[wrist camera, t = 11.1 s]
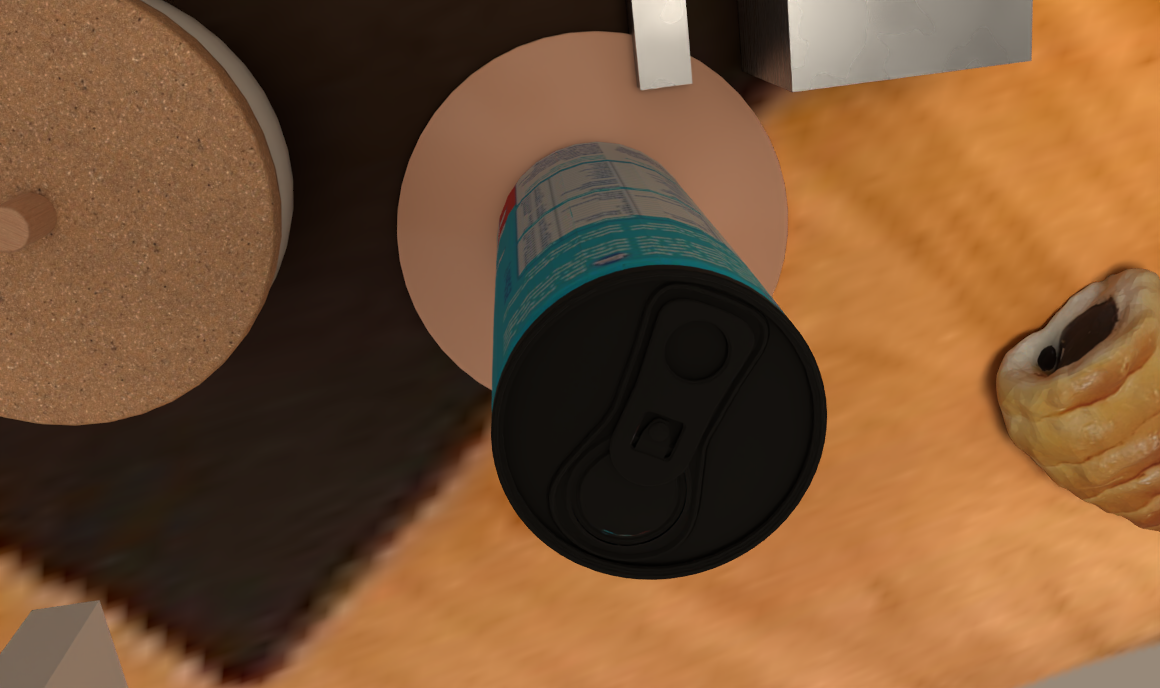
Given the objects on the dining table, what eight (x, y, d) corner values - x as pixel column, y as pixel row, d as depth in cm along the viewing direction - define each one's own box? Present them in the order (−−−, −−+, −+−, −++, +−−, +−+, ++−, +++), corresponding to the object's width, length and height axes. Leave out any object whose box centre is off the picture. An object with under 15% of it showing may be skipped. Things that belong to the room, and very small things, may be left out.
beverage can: (460, 264, 33) (425, 484, 19) (565, 98, 31) (614, 201, 17) (620, 360, 34) (701, 633, 20) (727, 205, 33) (896, 382, 19)
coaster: (365, 58, 31) (362, 60, 31) (771, 5, 32) (776, 6, 31) (433, 432, 35) (432, 439, 35) (793, 382, 36) (798, 389, 35)
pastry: (1263, 431, 38) (1343, 481, 34) (1105, 551, 39) (1166, 611, 35) (1120, 243, 35) (1189, 275, 31) (955, 378, 36) (1004, 423, 33)
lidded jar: (248, 383, 34) (159, 525, 26) (-92, 238, 32) (-319, 339, 23) (384, 76, 32) (337, 116, 23) (21, -106, 29) (-188, -139, 20)
